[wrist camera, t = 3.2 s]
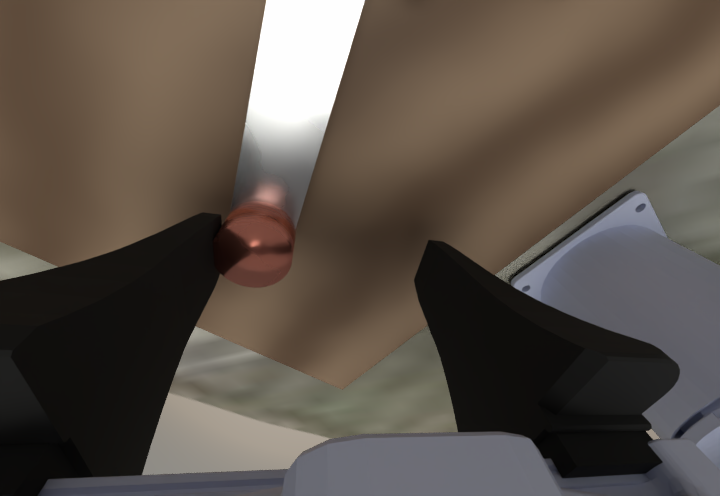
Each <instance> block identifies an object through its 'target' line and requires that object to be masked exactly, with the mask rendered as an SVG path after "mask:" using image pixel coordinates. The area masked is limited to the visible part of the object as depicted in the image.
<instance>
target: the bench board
mask: <svg viewBox="0 0 720 496" xmlns="http://www.w3.org/2000/svg"><path fill="white" fill-rule="evenodd" d="M266 1H267V0H0V242H3V243H5V244H7V245H10V246H12V247H14V248H16V249H19V250H21V251H23V252H26V253H28V254H30V255H33V256H35V257H37V258H40V259H42V260H44V261H47V262H49V263H51V264H53V265H56V266H58V267H61V266H65V265H69V264H73V263H76V262H80V261H84V260H87V259H90V258H93V257H96V256H99V255H103V254H106V253H109V252H111V251H114V250H117V249H120V248H122V247H125V246H128V245H130V244H132V243H135V242H137V241H140V240H142V239H144V238H147V237H149V236H151V235H154V234H156V233H158V232H160V231H163V230H165V229H167V228H169V227H171V226H173V225H175V224H177V223H179V222H182V221H184V220H186V219H188V218H190V217H192V216H194V215H197V214H199V213H202V212H204V213H212V214H221V220H222V225H223V223H224V221H225V220H226V218H227V216H228V215H229V213H230V210H231V204H232V198H233V192H234V186H235V181H236V175H237V169H238V163H239V157H240V152H241V146H242V140H243V134H244V128H245V122H246V117H247V111H248V105H249V99H250V93H251V88H252V82H253V76H254V70H255V64H256V59H257V53H258V47H259V41H260V35H261V30H262V24H263V18H264V12H265V6H266ZM719 105H720V0H365V1H364V4H363V7H362V11H361V14H360V17H359V21H358V24H357V27H356V31H355V34H354V37H353V41H352V44H351V47H350V51H349V54H348V57H347V60H346V64H345V67H344V70H343V74H342V77H341V80H340V84H339V87H338V90H337V94H336V97H335V100H334V104H333V107H332V110H331V113H330V117H329V120H328V123H327V127H326V130H325V133H324V137H323V140H322V143H321V147H320V150H319V153H318V157H317V160H316V163H315V166H314V170H313V173H312V176H311V180H310V183H309V186H308V190H307V193H306V196H305V200H304V203H303V206H302V210H301V213H300V216H299V219H298V223H297V230H296V237H295V244H294V251H293V258H292V264H291V268H290V270H289V272H288V273H287V275H286V276H285V277H284V278H283V279H282V280H280V281H279V282H277V283H275V284H273V285H270V286H266V287H260V288H252V287H245V286H241V285H238V284H235V283H233V282H231V281H230V280H228V279H226V278H225V277H224V276H223V275H222V274H220V275H219V278H218V281H217V284H216V286H215V288H214V290H213V292H212V294H211V296H210V298H209V300H208V302H207V304H206V306H205V308H204V310H203V312H202V314H201V316H200V318H199V320H198V322H197V324H196V326H197V327H199V328H201V329H204V330H206V331H208V332H210V333H213V334H215V335H217V336H220V337H222V338H224V339H227V340H229V341H231V342H234V343H236V344H238V345H240V346H243V347H245V348H247V349H250V350H252V351H254V352H257V353H259V354H261V355H264V356H266V357H268V358H271V359H273V360H275V361H277V362H280V363H282V364H284V365H287V366H289V367H291V368H294V369H296V370H298V371H301V372H303V373H305V374H307V375H310V376H312V377H314V378H317V379H319V380H321V381H324V382H326V383H328V384H331V385H333V386H335V387H337V388H340V389H344V388H345V387H346V386H348V385H349V384H350V383H352V382H353V381H354V380H356V379H357V378H358V377H360V376H361V375H362V374H364V373H365V372H366V371H368V370H369V369H370V368H372V367H373V366H374V365H376V364H377V363H378V362H380V361H381V360H382V359H384V358H385V357H386V356H388V355H389V354H390V353H392V352H393V351H394V350H396V349H397V348H398V347H399V346H401V345H402V344H403V343H405V342H406V341H407V340H409V339H410V338H411V337H413V336H414V335H415V334H417V333H418V332H419V331H421V330H422V329H423V328H425V327H426V326H427V325H428V324H427V321H426V319H425V316H424V314H423V311H422V309H421V306H420V303H419V301H418V297H417V293H416V288H415V283H414V278H415V275H416V273H417V270H418V267H419V264H420V262H421V259H422V256H423V254H424V251H425V248H426V245H427V243H428V240H435V241H443V242H445V243H447V244H449V245H450V246H452V247H453V248H455V249H457V250H458V251H460V252H461V253H462V254H464V255H465V256H467V257H468V258H470V259H471V260H473V261H474V262H475V263H477V264H478V265H480V266H481V267H483V268H484V269H486V270H487V271H489V272H490V273H492V274H493V275H495V274H496V273H498V272H499V271H500V270H502V269H503V268H504V267H506V266H507V265H508V264H510V263H511V262H512V261H514V260H515V259H516V258H518V257H519V256H520V255H522V254H523V253H524V252H526V251H527V250H528V249H530V248H531V247H532V246H534V245H535V244H536V243H537V242H539V241H540V240H541V239H543V238H544V237H545V236H547V235H548V234H549V233H551V232H552V231H553V230H555V229H556V228H557V227H559V226H560V225H561V224H563V223H564V222H565V221H567V220H568V219H569V218H571V217H572V216H573V215H575V214H576V213H577V212H579V211H580V210H581V209H583V208H584V207H585V206H587V205H588V204H589V203H591V202H592V201H593V200H595V199H596V198H597V197H599V196H600V195H601V194H603V193H604V192H605V191H607V190H608V189H609V188H610V187H612V186H613V185H614V184H616V183H617V182H618V181H620V180H621V179H622V178H624V177H625V176H626V175H628V174H629V173H630V172H632V171H633V170H634V169H636V168H637V167H638V166H640V165H641V164H642V163H644V162H645V161H646V160H648V159H649V158H650V157H652V156H653V155H654V154H656V153H657V152H658V151H660V150H661V149H662V148H664V147H665V146H666V145H668V144H669V143H670V142H672V141H673V140H674V139H676V138H677V137H678V136H679V135H681V134H682V133H683V132H685V131H686V130H687V129H689V128H690V127H691V126H693V125H694V124H695V123H697V122H698V121H699V120H701V119H702V118H703V117H705V116H706V115H707V114H709V113H710V112H711V111H713V110H714V109H715V108H717V107H718V106H719Z"/></svg>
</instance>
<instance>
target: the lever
mask: <svg viewBox="0 0 720 496" xmlns="http://www.w3.org/2000/svg"><path fill="white" fill-rule="evenodd" d="M364 1H365V0H267V1H266V6H265V12H264V18H263V24H262V30H261V35H260V41H259V47H258V53H257V59H256V64H255V70H254V76H253V82H252V88H251V93H250V99H249V105H248V111H247V117H246V122H245V128H244V134H243V140H242V146H241V152H240V157H239V163H238V169H237V175H236V181H235V186H234V192H233V198H232V204H231V210H230V213H229V215H228V216H227V218H226V220H225V221H224V223H223V225H222V226H221V228H220V230H219V231H218V233H217V235H216V237H215V238H214V240H213V254H214V266H215V267H216V269H217V270H218V271H219V273H220V274H222V275H223V276H224V277H225V278H226V279H228V280H230V281H231V282H233V283H235V284H238V285H241V286H245V287H252V288H260V287H266V286H270V285H273V284H275V283H277V282H279V281H280V280H282V279H283V278H284V277H285V276H286V275H287V273H288V272H289V270H290V268H291V264H292V258H293V251H294V244H295V237H296V230H297V223H298V219H299V216H300V213H301V210H302V206H303V203H304V200H305V196H306V193H307V190H308V186H309V183H310V180H311V176H312V173H313V170H314V166H315V163H316V160H317V157H318V153H319V150H320V147H321V143H322V140H323V137H324V133H325V130H326V127H327V123H328V120H329V117H330V113H331V110H332V107H333V104H334V100H335V97H336V94H337V90H338V87H339V84H340V80H341V77H342V74H343V70H344V67H345V64H346V60H347V57H348V54H349V51H350V47H351V44H352V41H353V37H354V34H355V31H356V27H357V24H358V21H359V17H360V14H361V11H362V7H363V4H364Z"/></svg>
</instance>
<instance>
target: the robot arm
mask: <svg viewBox="0 0 720 496" xmlns="http://www.w3.org/2000/svg"><path fill="white" fill-rule="evenodd" d="M221 226H222V220H221V214H212V213H204V212H202V213H199V214H197V215H194V216H192V217H190V218H188V219H186V220H184V221H182V222H179V223H177V224H175V225H173V226H171V227H169V228H167V229H165V230H163V231H160V232H158V233H156V234H154V235H151V236H149V237H147V238H144V239H142V240H140V241H137V242H135V243H132V244H130V245H128V246H125V247H122V248H120V249H117V250H114V251H111V252H109V253H106V254H103V255H99V256H96V257H93V258H90V259H87V260H84V261H80V262H76V263H73V264H69V265H65V266H61V267H58V268H54V269H50V270H46V271H42V272H38V273H34V274H30V275H25V276H21V277H16V278H11V279H7V280H2V281H0V496H720V265H718V264H716V263H714V262H712V261H710V260H708V259H706V258H704V257H702V256H700V255H699V254H697V253H695V252H693V251H691V250H689V249H687V248H685V247H683V246H681V245H679V244H677V243H675V242H674V241H672V240H670V239H668V238H667V236H666V234H665V232H664V230H663V228H662V225H661V223H660V221H659V219H658V217H657V215H656V213H655V211H654V209H653V207H652V205H651V203H650V201H649V199H648V197H647V195H646V194H645V193H643V192H640V191H633V192H631V193H629V194H627V195H626V196H625V197H623V198H622V199H621V200H619V201H618V202H617V203H615V204H614V205H612V206H611V207H610V208H608V209H607V210H606V211H604V212H603V213H601V214H600V215H599V216H597V217H596V218H595V219H593V220H592V221H591V222H589V223H588V224H586V225H585V226H584V227H582V228H581V229H580V230H578V231H577V232H576V233H574V234H573V235H571V236H570V237H569V238H567V239H566V240H565V241H563V242H562V243H560V244H559V245H558V246H556V247H555V248H554V249H552V250H551V251H550V252H548V253H547V254H545V255H544V256H543V257H541V258H540V259H539V260H537V261H536V262H534V263H533V264H532V265H530V266H529V267H528V268H526V269H525V270H524V271H522V272H521V273H519V274H518V275H517V276H515V277H514V278H513V279H512V281H511V285H512V286H511V285H509V284H508V283H506V282H504V281H503V280H501V279H500V278H498V277H496V276H495V275H493V274H492V273H490V272H489V271H487V270H486V269H484V268H483V267H481V266H480V265H478V264H477V263H475V262H474V261H473V260H471V259H470V258H468V257H467V256H465V255H464V254H462V253H461V252H460V251H458V250H457V249H455V248H453V247H452V246H450V245H449V244H447V243H445V242H443V241H435V240H428V243H427V245H426V248H425V251H424V254H423V256H422V259H421V262H420V264H419V267H418V270H417V273H416V275H415V278H414V283H415V288H416V293H417V297H418V301H419V303H420V306H421V309H422V311H423V314H424V316H425V319H426V321H427V324H428V326H429V329H430V331H431V334H432V336H433V339H434V342H435V344H436V347H437V349H438V352H439V355H440V358H441V362H442V365H443V369H444V372H445V376H446V380H447V384H448V388H449V392H450V396H451V400H452V404H453V409H454V414H455V419H456V424H457V428H458V432H449V433H397V434H360V435H354V436H347V437H341V438H334V439H329V440H327V441H325V442H323V443H320V444H318V445H316V446H314V447H312V448H310V449H308V450H306V451H304V452H302V453H301V455H300V456H298V457H297V459H296V460H295V462H294V463H293V464H292V465H291V467H290V468H289V469H283V470H259V471H258V470H257V471H234V472H211V473H210V472H209V473H186V474H185V473H184V474H161V475H142V472H143V469H144V466H145V462H146V459H147V456H148V452H149V449H150V445H151V443H152V439H153V437H154V434H155V431H156V427H157V425H158V422H159V418H160V415H161V412H162V409H163V406H164V403H165V400H166V398H167V395H168V392H169V389H170V386H171V384H172V381H173V378H174V375H175V372H176V370H177V367H178V365H179V362H180V359H181V357H182V354H183V351H184V349H185V346H186V344H187V342H188V340H189V338H190V336H191V334H192V332H193V330H194V328H195V326H196V324H197V322H198V320H199V318H200V316H201V314H202V312H203V310H204V308H205V306H206V304H207V302H208V300H209V298H210V296H211V294H212V292H213V290H214V288H215V286H216V284H217V281H218V278H219V275H220V273H219V271H218V270H217V269H216V267H215V266H214V254H213V240H214V238H215V237H216V235H217V233H218V231H219V230H220V228H221ZM524 286H525V287H524ZM650 429H652V430H653V431H654V432H655V433H656V434H657V435H658V436H659V438H660V439H656V440H653V439H652V438H651V437H650V436H649V435H648V434H647V432H646V431H648V430H650Z"/></svg>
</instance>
